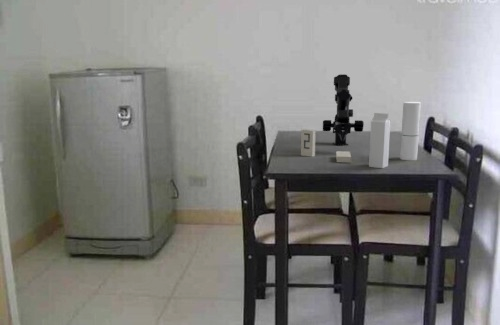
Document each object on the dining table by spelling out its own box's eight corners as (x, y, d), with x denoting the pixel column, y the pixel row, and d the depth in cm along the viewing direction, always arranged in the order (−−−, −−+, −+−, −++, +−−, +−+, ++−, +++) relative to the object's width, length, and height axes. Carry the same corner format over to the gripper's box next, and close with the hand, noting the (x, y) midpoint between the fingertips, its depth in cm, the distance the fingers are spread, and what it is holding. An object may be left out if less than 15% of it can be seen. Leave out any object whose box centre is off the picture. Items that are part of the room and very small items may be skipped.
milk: (374, 164, 198) (376, 112, 194) (388, 166, 195) (391, 113, 190) (368, 166, 194) (371, 113, 189) (382, 168, 190) (385, 114, 185)
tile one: (336, 151, 213) (336, 156, 201) (349, 151, 212) (351, 156, 201) (336, 156, 214) (336, 162, 202) (349, 157, 213) (350, 162, 201)
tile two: (303, 154, 220) (304, 129, 218) (314, 155, 217) (315, 130, 214) (300, 155, 218) (301, 129, 215) (312, 156, 215) (312, 130, 212)
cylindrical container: (417, 157, 210) (421, 101, 205) (416, 161, 204) (420, 103, 198) (401, 156, 213) (404, 101, 208) (399, 159, 207) (402, 102, 201)
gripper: (323, 103, 219) (322, 130, 211) (364, 103, 216) (365, 130, 208) (323, 117, 229) (322, 143, 221) (362, 117, 226) (362, 144, 218)
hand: (342, 140), depth 217 cm, fingers closed
